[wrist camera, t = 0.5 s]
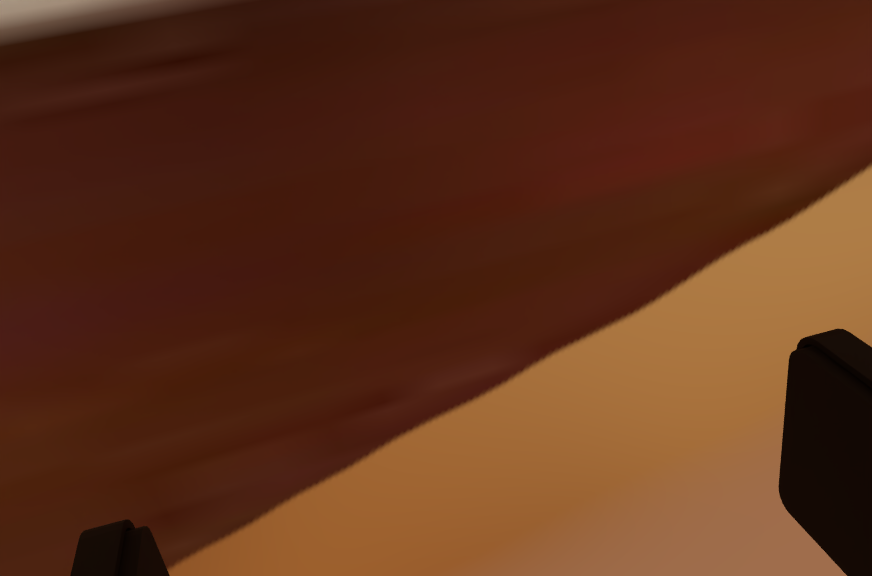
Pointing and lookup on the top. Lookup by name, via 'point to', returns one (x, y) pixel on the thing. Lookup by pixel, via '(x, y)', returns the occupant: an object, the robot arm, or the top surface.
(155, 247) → the top surface
